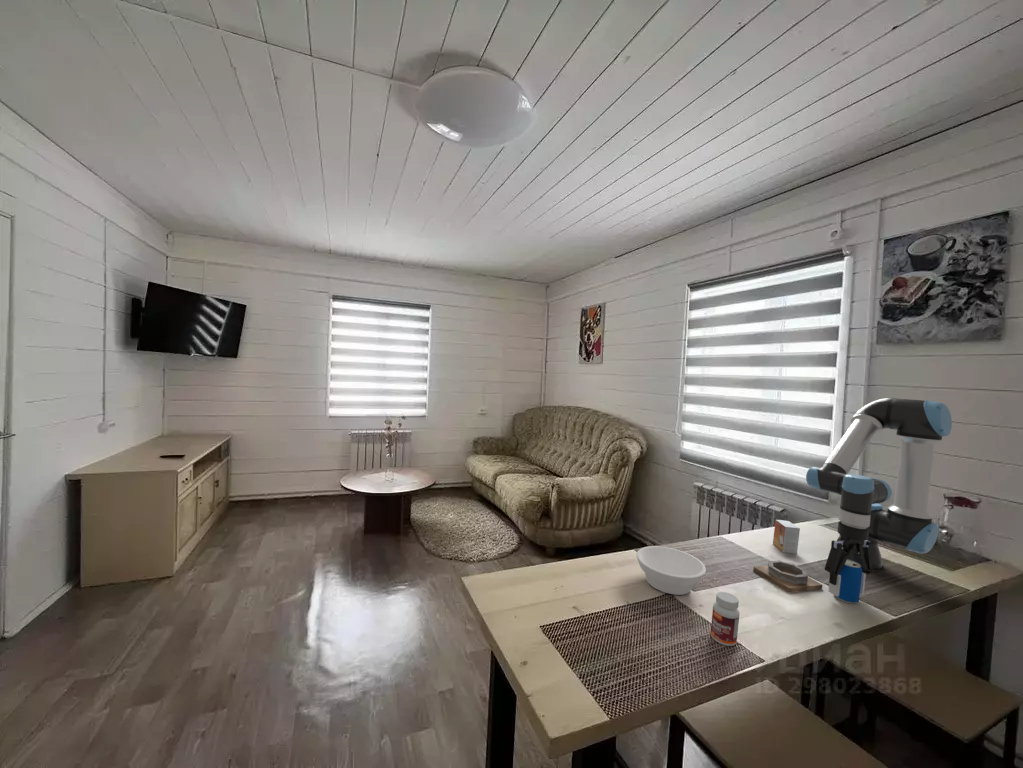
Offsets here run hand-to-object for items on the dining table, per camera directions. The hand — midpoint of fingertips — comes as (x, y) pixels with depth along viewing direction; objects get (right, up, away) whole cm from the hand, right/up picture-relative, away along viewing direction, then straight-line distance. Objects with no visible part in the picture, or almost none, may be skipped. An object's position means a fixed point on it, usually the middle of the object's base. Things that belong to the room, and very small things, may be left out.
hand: (846, 592), depth 130 cm
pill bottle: (-52, 0, -24) cm, 57 cm away
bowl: (-56, +1, +2) cm, 56 cm away
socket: (-12, -1, +10) cm, 16 cm away
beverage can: (0, -2, 0) cm, 2 cm away
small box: (+5, -1, +36) cm, 37 cm away
